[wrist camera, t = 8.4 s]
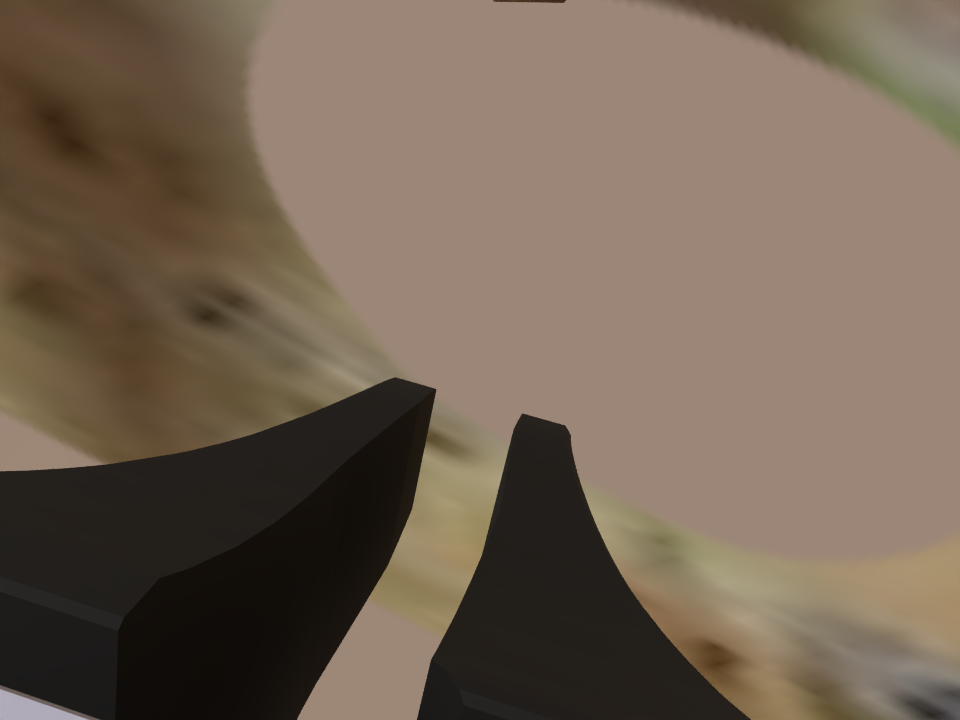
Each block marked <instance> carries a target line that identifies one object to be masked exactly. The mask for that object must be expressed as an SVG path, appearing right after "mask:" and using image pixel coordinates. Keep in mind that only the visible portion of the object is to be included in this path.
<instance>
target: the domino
mask: <svg viewBox="0 0 960 720" xmlns="http://www.w3.org/2000/svg"><path fill="white" fill-rule="evenodd" d="M493 1H494V2H551V3H555V2H556V3H558V2H559V3H564V2H565V1H566V0H493Z"/></svg>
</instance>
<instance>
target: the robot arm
mask: <svg viewBox="0 0 960 720" xmlns="http://www.w3.org/2000/svg"><path fill="white" fill-rule="evenodd" d="M435 394H436V389H434V388H431V387H427V386H424V385H420V384H417V383H413V382H410V381H406V380H403V379H399V378H396V377H395V378H392V379H389V380H387V381H384V382H382V383H379V384H377V385H375V386H373V387H370V388H368V389H366V390H364V391H361V392H359V393H357V394H355V395H353V396H350V397H348V398H346V399H343V400H341V401H339V402H336V403H334V404H332V405H329V406H327V407H325V408H322V409H320V410H318V411H315V412H313V413H311V414H308V415H305V416H303V417H300V418H297V419H294V420H292V421H289V422H286V423H283V424H280V425H278V426H275V427H272V428H269V429H267V430H264V431H261V432H258V433H255V434H252V435H249V436H246V437H242V438H239V439H235V440H232V441H228V442H225V443H221V444H217V445H212V446H208V447H204V448H200V449H196V450H192V451H187V452H182V453H177V454H171V455H165V456H159V457H153V458H146V459H140V460H134V461H127V462H121V463H115V464H107V465H98V466H87V467H76V468H64V469H48V470H31V471H4V472H3V471H1V472H0V720H297V718H298V716H299V714H300V712H301V710H302V708H303V706H304V705H305V703H306V701H307V699H308V697H309V696H310V694H311V692H312V690H313V688H314V686H315V684H316V683H317V681H318V680H319V678H320V676H321V675H322V673H323V671H324V670H325V668H326V666H327V665H328V663H329V661H330V660H331V658H332V657H333V655H334V653H335V652H336V650H337V648H338V647H339V645H340V643H341V642H342V640H343V639H344V637H345V635H346V634H347V632H348V630H349V629H350V627H351V625H352V624H353V622H354V620H355V619H356V617H357V616H358V614H359V612H360V611H361V609H362V607H363V606H364V604H365V602H366V601H367V599H368V597H369V596H370V594H371V592H372V591H373V589H374V588H375V586H376V584H377V583H378V581H379V579H380V578H381V576H382V574H383V572H384V571H385V569H386V567H387V566H388V564H389V561H390V559H391V557H392V555H393V552H394V550H395V548H396V546H397V543H398V541H399V539H400V536H401V534H402V532H403V529H404V527H405V525H406V522H407V520H408V518H409V515H410V513H411V510H412V506H413V502H414V497H415V492H416V487H417V482H418V477H419V472H420V467H421V462H422V457H423V453H424V448H425V443H426V438H427V433H428V428H429V423H430V418H431V413H432V408H433V403H434V399H435ZM417 720H751V719H749V718H748V717H747V716H746V715H745V714H743V713H742V712H741V711H740V710H739V709H738V708H736V707H735V706H734V705H733V704H732V703H730V702H729V701H728V700H727V699H726V698H725V697H724V696H723V695H721V694H720V693H719V692H718V691H717V690H716V689H715V688H714V687H713V686H712V685H711V684H710V683H709V682H708V681H707V680H706V679H705V678H704V677H703V676H702V675H701V674H700V673H699V672H698V671H697V670H696V669H695V668H694V667H693V666H692V665H691V664H690V663H689V662H688V661H687V659H686V658H685V657H684V656H683V655H682V654H681V653H680V652H679V651H678V649H677V648H676V647H675V646H674V645H673V644H672V643H671V642H670V640H669V639H668V638H667V637H666V636H665V634H664V633H663V632H662V631H661V629H660V628H659V627H658V626H657V624H656V623H655V622H654V621H653V619H652V618H651V617H650V615H649V614H648V613H647V612H646V610H645V609H644V608H643V607H642V605H641V604H640V602H639V601H638V600H637V598H636V597H635V595H634V594H633V593H632V591H631V590H630V588H629V587H628V585H627V583H626V582H625V580H624V578H623V577H622V575H621V574H620V572H619V570H618V568H617V566H616V565H615V563H614V561H613V559H612V557H611V555H610V553H609V551H608V549H607V547H606V545H605V543H604V541H603V539H602V537H601V535H600V532H599V530H598V528H597V526H596V524H595V521H594V519H593V516H592V514H591V511H590V509H589V506H588V503H587V500H586V498H585V495H584V492H583V489H582V486H581V483H580V480H579V477H578V473H577V469H576V466H575V462H574V457H573V453H572V447H571V435H570V433H569V431H568V429H567V428H566V426H565V425H561V424H558V423H554V422H550V421H547V420H543V419H540V418H537V417H533V416H529V415H526V414H522V415H521V417H520V418H519V420H518V422H517V424H516V426H515V428H514V431H513V434H512V438H511V442H510V446H509V450H508V454H507V458H506V462H505V466H504V470H503V474H502V478H501V482H500V486H499V490H498V494H497V498H496V502H495V506H494V510H493V514H492V518H491V522H490V526H489V530H488V534H487V538H486V542H485V546H484V550H483V553H482V556H481V559H480V561H479V563H478V566H477V568H476V570H475V573H474V575H473V577H472V580H471V582H470V584H469V586H468V588H467V591H466V593H465V595H464V597H463V599H462V601H461V604H460V606H459V608H458V610H457V612H456V614H455V616H454V618H453V620H452V622H451V624H450V626H449V628H448V630H447V632H446V634H445V635H444V637H443V639H442V641H441V643H440V645H439V647H438V649H437V651H436V652H435V654H434V656H433V657H432V659H431V663H430V667H429V671H428V675H427V679H426V684H425V688H424V692H423V696H422V701H421V705H420V709H419V713H418V718H417Z"/></svg>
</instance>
